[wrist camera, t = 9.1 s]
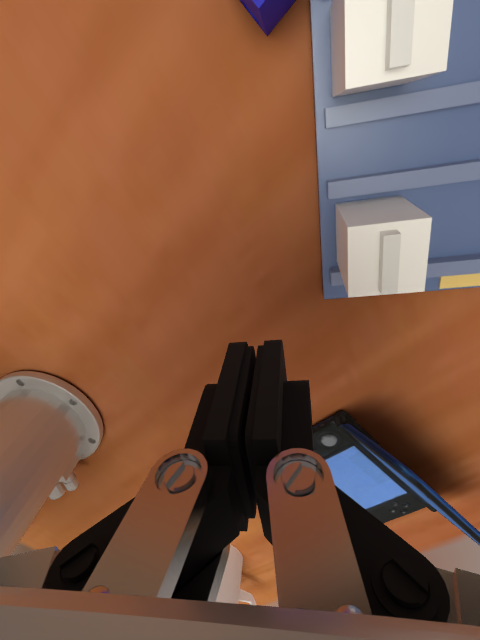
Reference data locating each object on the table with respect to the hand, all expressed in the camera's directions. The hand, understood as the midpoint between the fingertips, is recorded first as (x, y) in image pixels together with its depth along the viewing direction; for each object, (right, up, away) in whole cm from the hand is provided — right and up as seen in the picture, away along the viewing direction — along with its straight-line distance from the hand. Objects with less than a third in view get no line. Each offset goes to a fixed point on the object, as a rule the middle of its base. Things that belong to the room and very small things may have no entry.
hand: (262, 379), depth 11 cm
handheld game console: (+13, -13, +25) cm, 31 cm away
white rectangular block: (+8, +8, +12) cm, 17 cm away
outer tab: (+6, +17, +8) cm, 19 cm away
